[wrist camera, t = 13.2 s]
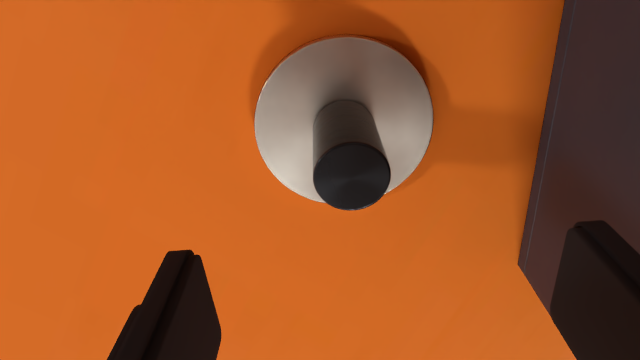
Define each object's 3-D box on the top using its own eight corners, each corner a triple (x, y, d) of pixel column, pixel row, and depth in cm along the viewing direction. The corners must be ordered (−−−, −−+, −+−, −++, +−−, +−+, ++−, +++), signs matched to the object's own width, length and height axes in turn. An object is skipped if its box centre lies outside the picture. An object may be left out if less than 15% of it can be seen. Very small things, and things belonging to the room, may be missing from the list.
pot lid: (241, 43, 18) (217, 78, 13) (434, 25, 18) (474, 54, 13) (269, 204, 22) (258, 272, 17) (427, 191, 22) (457, 257, 17)
